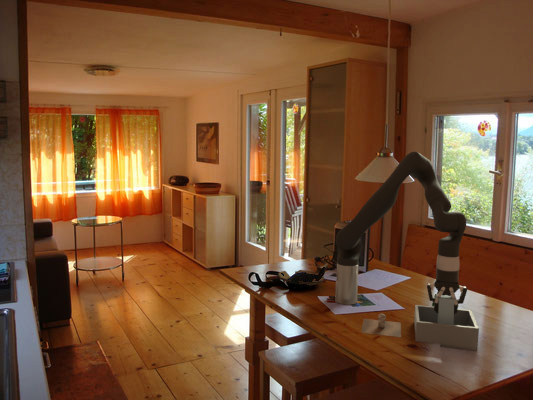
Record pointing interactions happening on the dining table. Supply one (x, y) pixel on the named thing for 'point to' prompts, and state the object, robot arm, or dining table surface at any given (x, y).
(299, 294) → the dining table surface
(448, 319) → the pale grey rectangular block
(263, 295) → the dining table surface
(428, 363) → the dining table surface
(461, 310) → the bin
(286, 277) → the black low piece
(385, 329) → the stud block
